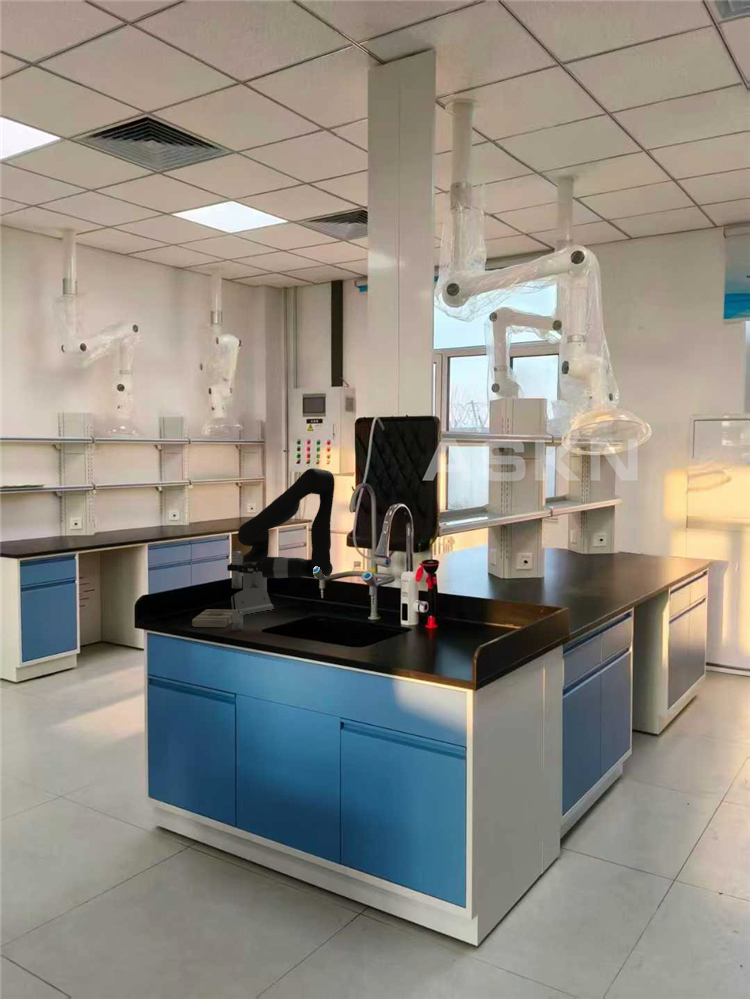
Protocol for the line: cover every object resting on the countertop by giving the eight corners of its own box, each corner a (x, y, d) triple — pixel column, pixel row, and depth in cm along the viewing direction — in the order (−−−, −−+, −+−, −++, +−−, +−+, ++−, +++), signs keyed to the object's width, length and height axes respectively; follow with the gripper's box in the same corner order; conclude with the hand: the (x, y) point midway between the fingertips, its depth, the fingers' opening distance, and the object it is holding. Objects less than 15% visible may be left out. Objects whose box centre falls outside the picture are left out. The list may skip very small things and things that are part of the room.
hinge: (240, 616, 293) (234, 589, 295) (233, 618, 296) (227, 592, 298) (275, 609, 305) (269, 584, 307) (267, 612, 308) (262, 587, 310)
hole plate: (206, 615, 293) (206, 609, 293) (238, 616, 292) (238, 609, 292) (192, 626, 275) (192, 619, 275) (226, 627, 275) (226, 620, 274)
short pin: (233, 628, 272) (233, 611, 272) (244, 628, 272) (243, 611, 272) (231, 631, 269) (231, 613, 268) (241, 631, 268) (241, 613, 268)
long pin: (233, 586, 285) (232, 551, 284) (243, 586, 284) (242, 551, 284) (230, 588, 281) (230, 552, 280) (240, 588, 281) (240, 552, 280)
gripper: (279, 554, 288) (233, 553, 289) (272, 559, 274) (224, 559, 275) (279, 574, 289) (233, 574, 290) (272, 581, 275) (224, 580, 276)
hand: (229, 566), depth 282 cm, fingers closed on long pin, 3 cm apart
